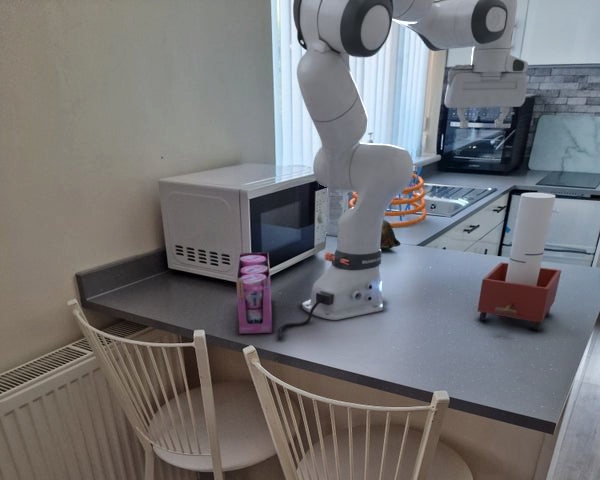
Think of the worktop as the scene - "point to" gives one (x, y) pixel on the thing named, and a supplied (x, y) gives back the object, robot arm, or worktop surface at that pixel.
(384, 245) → the bronze bell
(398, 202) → the orange spiral coil
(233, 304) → the worktop surface
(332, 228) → the juice carton
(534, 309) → the toy cart
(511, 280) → the cylindrical container
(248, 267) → the gum box
